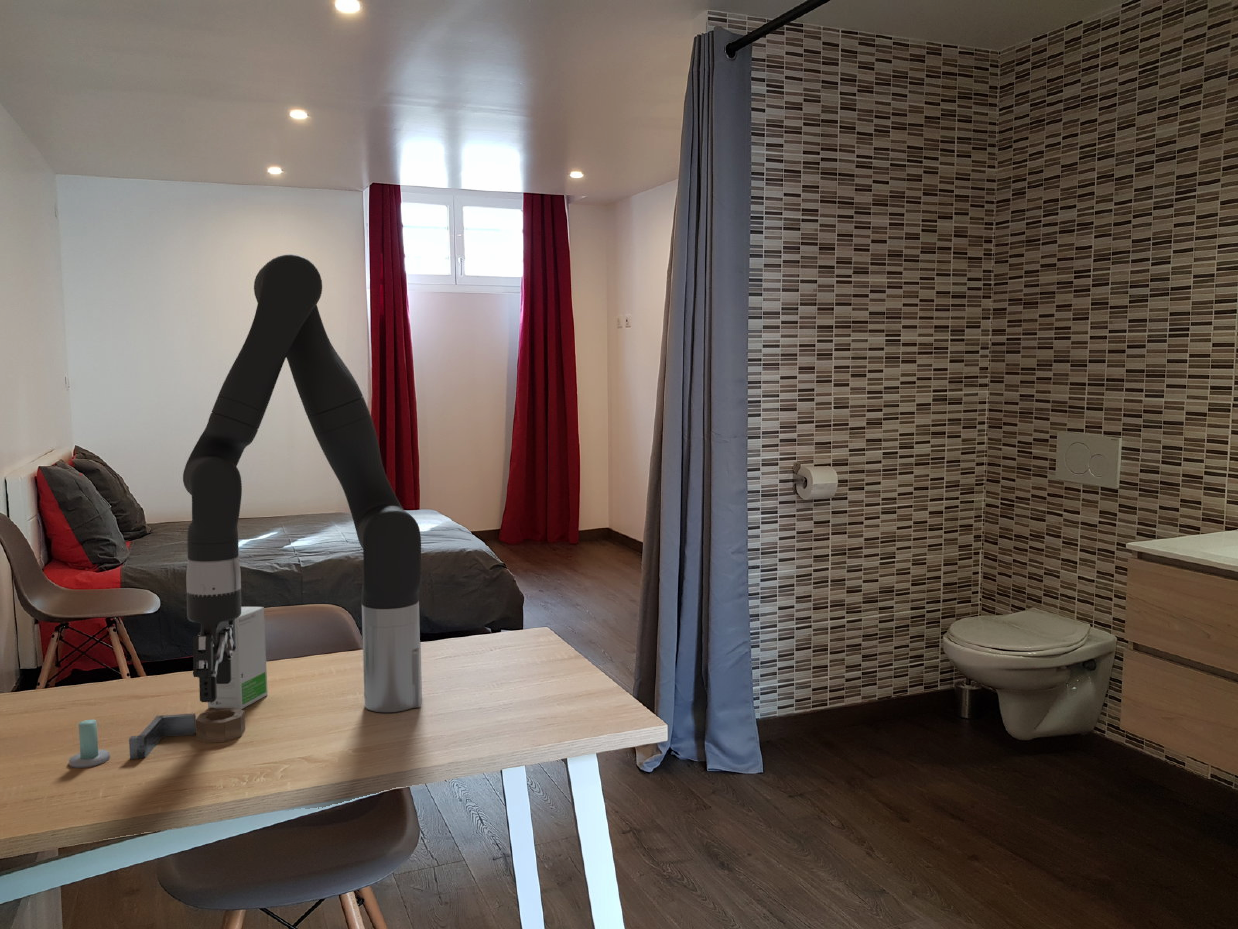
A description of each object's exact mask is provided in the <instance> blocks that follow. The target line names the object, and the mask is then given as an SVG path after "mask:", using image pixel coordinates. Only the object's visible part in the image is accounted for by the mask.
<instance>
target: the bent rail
mask: <svg viewBox="0 0 1238 929" xmlns="http://www.w3.org/2000/svg"><path fill="white" fill-rule="evenodd" d="M196 719H197V718H196V713H181V714H164V715H163V714H161V715H156V716H155V717H154V718H153V720H152V721H151V722H150V723H149V724H148V725H147V726H146V728H144V729H143V731H142V732H140V734H139V735H131V736H130V737H129V738H128V743H129V744H128V745H129V747H128V748H129V760H135V759H146V758H147V756H148V755H149V754H150V753H151V752H152V751H153V749H154V748H155V747H156V746H157V744H158V743H159V742H160V741H161V740H162V739H163V738H166V737H179V736H180V737H181V736H195V734H196Z"/></svg>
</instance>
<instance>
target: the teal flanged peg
mask: <svg viewBox="0 0 1238 929" xmlns="http://www.w3.org/2000/svg"><path fill="white" fill-rule="evenodd" d="M97 725H98V724H97V720H96V719H86V720H81V721H79V722H78V737H79V738H78V739H79V751H80V752H78V753H76V754H74V755H72V756H71V757H70V758H69V759H68V764H69V765H68V766H69V767H71V768H74V769H84V768H85V769H86V768H91V767H95V766H99V765H102V764H103V763H105V762H107V761H109V759H110V755H111V754H110V751H109V750H107V749H102V748H101V749H100V748H99V741H98V740H99V738H98V726H97Z"/></svg>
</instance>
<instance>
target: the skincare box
mask: <svg viewBox="0 0 1238 929" xmlns="http://www.w3.org/2000/svg"><path fill="white" fill-rule="evenodd" d="M265 632H266V629H265V607H264V606H241V615H240V616H239V617H238V618H236V619H235V644H236V649H235V651H233V657H232V658H230V659H231V681H230V683H228V684H217V698H216V700H215V701H214V702H207V707H208V708H210V709H217V708H233V707H235V708H238V709H241V710H244V709H245V708H247V707H248V706H250V705H252V704H253V703H255V702H257V701H259V700H261V699H262V698H264V697H267V696H268V675H267V674H268V671H267V654H266V653H267V652H266V651H267V650H266V633H265ZM205 665H206V668H208V663H205Z"/></svg>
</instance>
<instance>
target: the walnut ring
mask: <svg viewBox="0 0 1238 929" xmlns="http://www.w3.org/2000/svg"><path fill="white" fill-rule="evenodd" d="M245 718H246V714H245V710H244V709H238V708H235V707H233V708H212V709H210V710H208V711H205V712H201V713H199V714H198V716H197V718H196V733H195V734H196V736H195V737H196V740H198V741H200V742H203V743H205V744H211V743H225V742H228V741H231V740H234V739H237V738H241V737H242V736H243V734H244V733H245V731H246V719H245Z"/></svg>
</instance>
